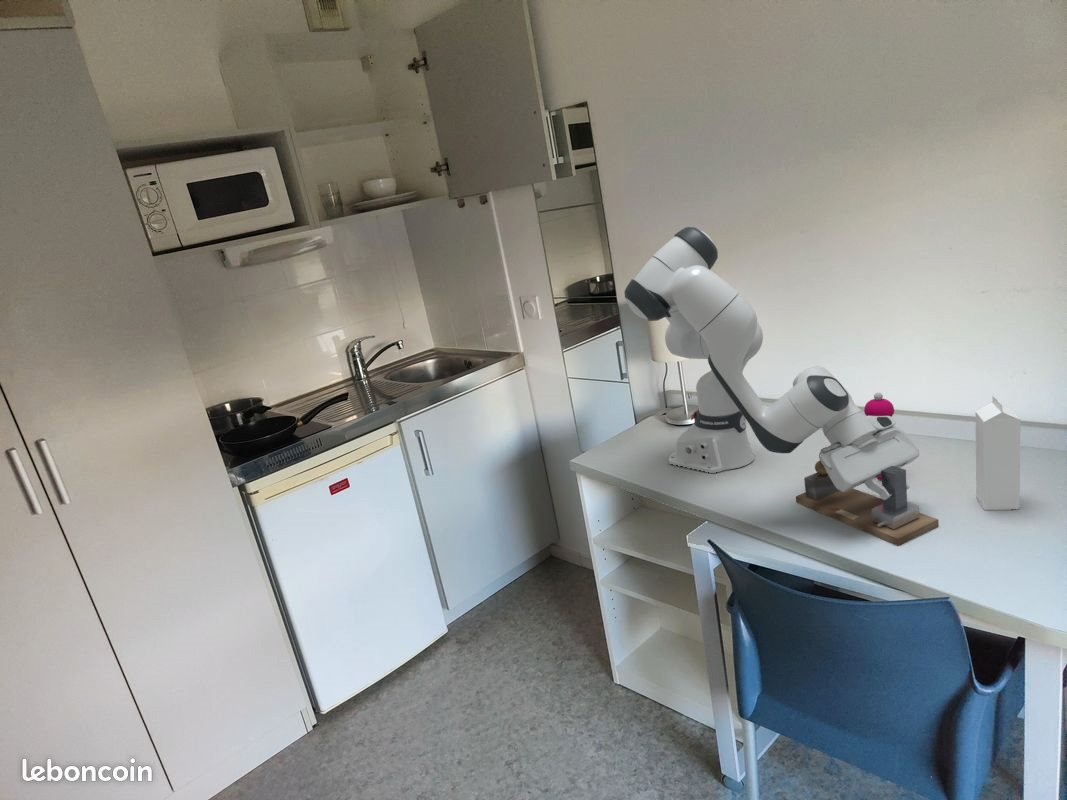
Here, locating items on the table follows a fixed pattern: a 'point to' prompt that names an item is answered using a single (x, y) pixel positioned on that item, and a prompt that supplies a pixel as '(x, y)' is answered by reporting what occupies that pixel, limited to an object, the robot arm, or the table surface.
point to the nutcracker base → (857, 508)
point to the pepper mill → (879, 409)
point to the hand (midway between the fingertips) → (897, 494)
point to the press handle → (895, 501)
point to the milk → (997, 457)
